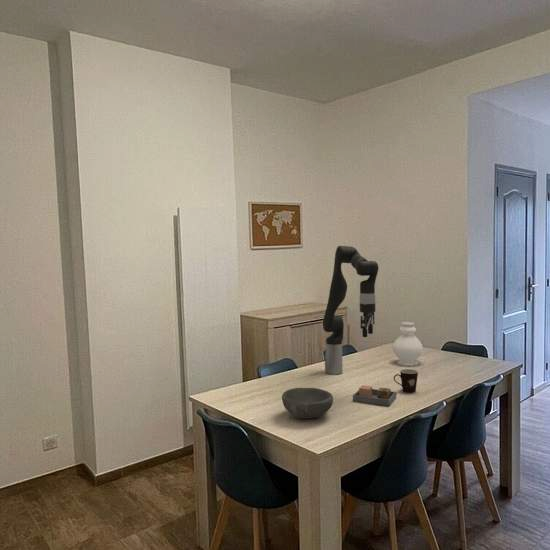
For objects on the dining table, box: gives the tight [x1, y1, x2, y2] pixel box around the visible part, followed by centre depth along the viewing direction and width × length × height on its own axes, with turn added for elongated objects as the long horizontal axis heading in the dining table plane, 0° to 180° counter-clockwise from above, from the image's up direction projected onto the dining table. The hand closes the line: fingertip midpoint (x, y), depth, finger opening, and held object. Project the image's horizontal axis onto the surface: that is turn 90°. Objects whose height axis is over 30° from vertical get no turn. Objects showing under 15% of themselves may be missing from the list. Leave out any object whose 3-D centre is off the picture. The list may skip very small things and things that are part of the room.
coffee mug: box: [393, 368, 419, 394], centre depth 244 cm, size 12×9×10 cm
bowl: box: [281, 387, 334, 419], centre depth 213 cm, size 23×22×10 cm
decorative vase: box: [392, 321, 424, 367], centre depth 297 cm, size 18×18×25 cm
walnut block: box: [377, 387, 392, 400], centre depth 230 cm, size 5×5×5 cm
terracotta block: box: [358, 384, 373, 397], centre depth 234 cm, size 5×5×5 cm
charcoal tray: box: [352, 388, 397, 407], centre depth 232 cm, size 17×13×3 cm
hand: (367, 335), depth 236 cm, fingers open, 8 cm apart
